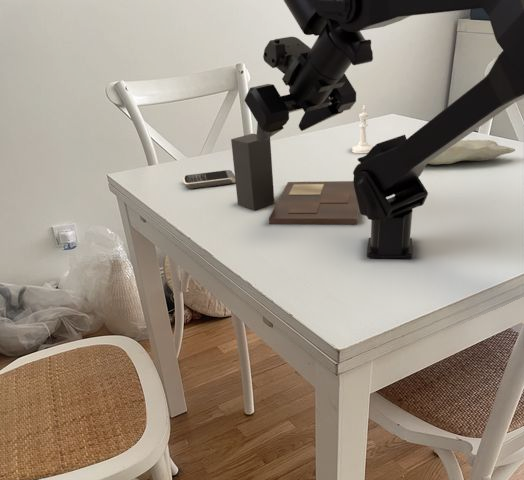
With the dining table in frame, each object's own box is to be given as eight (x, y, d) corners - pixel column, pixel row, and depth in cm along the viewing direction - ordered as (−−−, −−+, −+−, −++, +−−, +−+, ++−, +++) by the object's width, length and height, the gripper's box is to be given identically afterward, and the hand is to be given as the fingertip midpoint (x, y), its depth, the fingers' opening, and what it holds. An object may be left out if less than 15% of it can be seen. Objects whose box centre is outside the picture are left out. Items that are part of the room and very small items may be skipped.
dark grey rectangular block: (274, 203, 102) (270, 136, 95) (254, 210, 99) (248, 143, 92) (257, 197, 105) (252, 133, 98) (237, 204, 103) (230, 139, 96)
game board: (356, 224, 90) (356, 218, 89) (269, 224, 93) (268, 218, 93) (363, 186, 106) (363, 180, 105) (288, 186, 109) (287, 181, 109)
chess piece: (350, 153, 126) (351, 107, 120) (353, 147, 130) (354, 102, 124) (371, 153, 124) (373, 106, 119) (374, 147, 128) (376, 102, 123)
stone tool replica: (390, 166, 110) (522, 163, 104) (391, 139, 108) (526, 134, 103) (390, 164, 123) (506, 161, 118) (391, 140, 122) (510, 136, 116)
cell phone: (183, 182, 117) (182, 175, 116) (233, 175, 118) (233, 169, 117) (184, 190, 112) (183, 183, 111) (237, 183, 113) (236, 177, 112)
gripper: (344, 9, 81) (297, 84, 94) (246, 22, 72) (210, 104, 85) (382, 70, 80) (329, 137, 94) (288, 92, 71) (245, 163, 84)
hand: (280, 134), depth 89 cm, fingers open, 9 cm apart
